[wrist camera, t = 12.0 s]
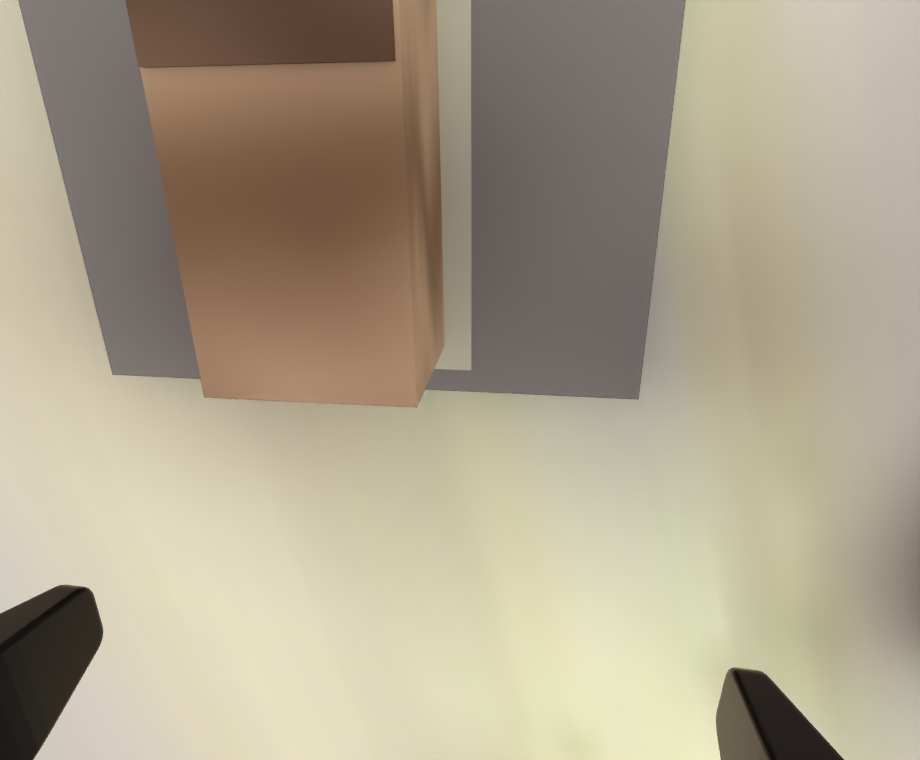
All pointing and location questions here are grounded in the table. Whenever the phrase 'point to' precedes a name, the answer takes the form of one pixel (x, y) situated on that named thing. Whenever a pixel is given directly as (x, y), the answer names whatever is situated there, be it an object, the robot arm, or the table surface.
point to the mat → (462, 187)
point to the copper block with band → (302, 191)
